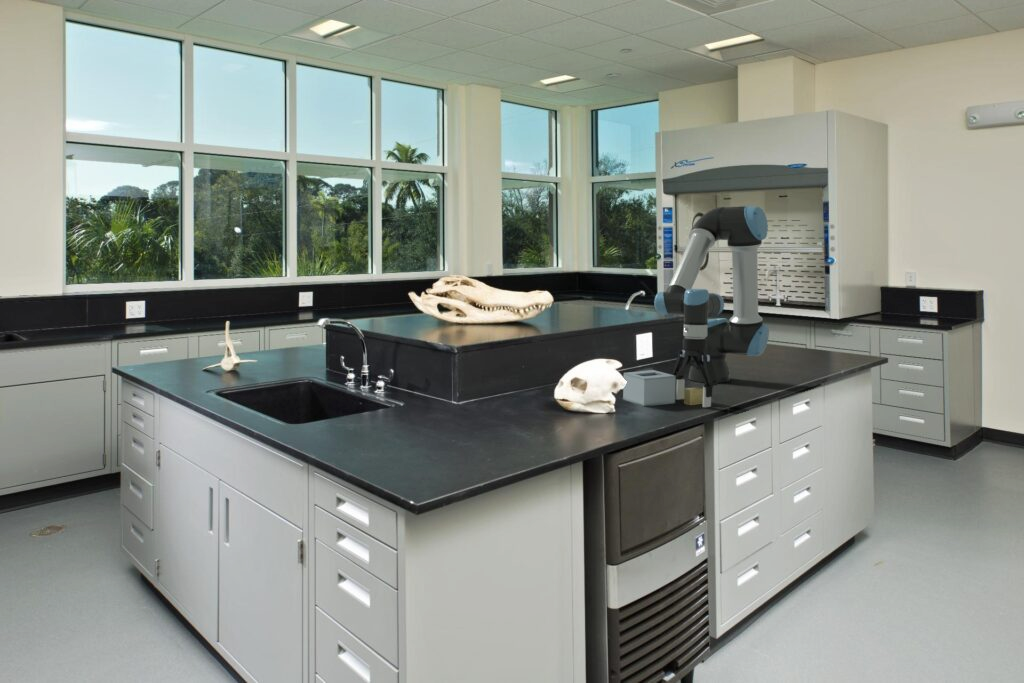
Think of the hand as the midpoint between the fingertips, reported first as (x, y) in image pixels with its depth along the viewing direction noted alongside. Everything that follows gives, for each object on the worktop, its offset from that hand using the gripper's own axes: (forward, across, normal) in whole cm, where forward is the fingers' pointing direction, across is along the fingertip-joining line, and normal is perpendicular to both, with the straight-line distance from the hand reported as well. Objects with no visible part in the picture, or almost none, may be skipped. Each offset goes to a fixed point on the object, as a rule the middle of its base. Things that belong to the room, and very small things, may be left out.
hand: (693, 402), depth 244 cm
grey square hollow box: (0, -9, -11) cm, 14 cm away
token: (0, 0, 0) cm, 0 cm away
